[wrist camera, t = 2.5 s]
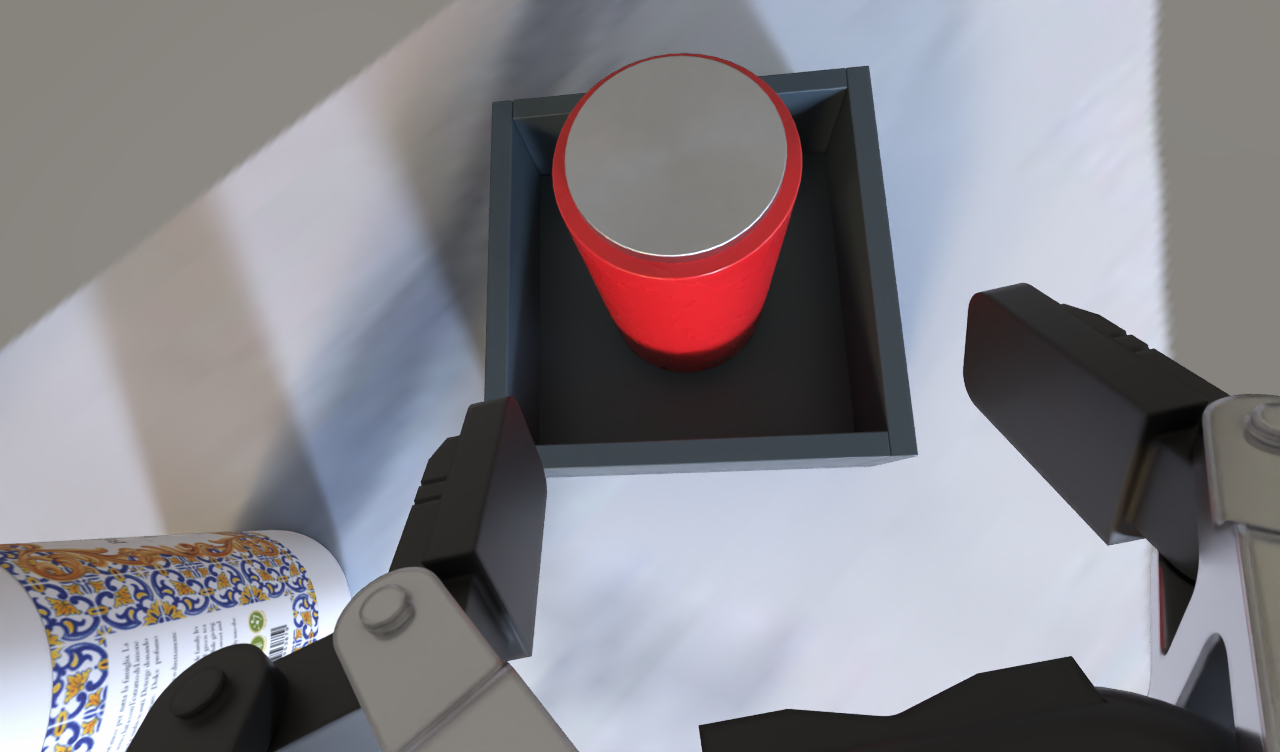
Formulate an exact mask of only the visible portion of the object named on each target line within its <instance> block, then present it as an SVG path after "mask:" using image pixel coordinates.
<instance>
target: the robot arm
mask: <svg viewBox="0 0 1280 752" xmlns="http://www.w3.org/2000/svg"><path fill="white" fill-rule="evenodd" d="M963 377H964V383H965V387H966V390H967V393H968V395H969V397H970V399H971V401H972V402H973V404H974V405H975V406H976V407H977V408H978V409H979V410H980V411H981V412H982V413H983V414H984V415H985V417H986V418H987V419H988V420H989V421H990V422H991V423H992V424H993V425H994V426H995V427H996V428H997V429H998V430H999V431H1000V432H1001V433H1002V434H1003V436H1004V437H1005V438H1006V439H1007V440H1008V441H1009V442H1010V443H1011V444H1012V445H1013V446H1014V447H1015V448H1016V449H1017V450H1018V451H1019V452H1020V453H1021V455H1022V456H1023V457H1024V458H1025V459H1026V460H1027V461H1028V462H1029V463H1030V464H1031V465H1032V466H1033V467H1034V468H1035V469H1036V470H1037V471H1038V472H1039V474H1040V475H1041V476H1042V477H1043V478H1044V479H1045V480H1046V481H1047V482H1048V483H1049V484H1050V485H1051V486H1052V487H1053V488H1054V489H1055V490H1056V491H1057V492H1058V494H1059V495H1060V496H1061V497H1062V498H1063V499H1064V500H1065V501H1066V502H1067V503H1068V504H1069V505H1070V506H1071V507H1072V508H1073V509H1074V510H1075V511H1076V513H1077V514H1078V515H1079V516H1080V517H1081V518H1082V519H1083V520H1084V521H1085V522H1086V523H1087V524H1088V525H1089V526H1090V527H1091V528H1092V529H1093V530H1094V532H1095V533H1096V534H1097V535H1098V536H1099V537H1100V538H1101V539H1102V540H1103V541H1104V542H1105V543H1106V544H1107V545H1113V544H1118V543H1123V542H1129V541H1134V540H1139V539H1144V538H1146V539H1147V540H1148V541H1149V542H1150V543H1151V544H1152V545H1153V546H1154V547H1155V550H1154V552H1153V555H1152V558H1151V561H1150V665H1151V667H1150V683H1149V690H1148V695H1147V696H1144V695H1141V694H1137V693H1133V692H1128V691H1122V690H1117V689H1111V688H1105V687H1094V686H1093V684H1092V683H1091V682H1090V680H1089V679H1088V678H1087V676H1086V675H1085V673H1084V672H1083V671H1082V669H1081V668H1080V667H1079V665H1078V664H1077V663H1076V661H1075V660H1074V658H1073V657H1072V656H1069V657H1064V658H1058V659H1053V660H1048V661H1042V662H1037V663H1032V664H1026V665H1021V666H1015V667H1010V668H1005V669H999V670H994V671H989V672H983V673H978V674H976V675H974V676H972V677H970V678H968V679H966V680H964V681H962V682H960V683H958V684H956V685H954V686H952V687H950V688H948V689H946V690H944V691H943V692H941V693H939V694H937V695H935V696H933V697H931V698H929V699H927V700H925V701H923V702H921V703H919V704H917V705H915V706H913V707H911V708H909V709H907V710H905V711H903V712H901V713H899V714H896V715H892V716H872V715H859V714H846V713H834V712H821V711H808V710H795V709H785V710H779V711H774V712H769V713H763V714H758V715H753V716H747V717H742V718H736V719H731V720H726V721H720V722H715V723H710V724H704V725H699V732H700V739H701V746H702V752H1280V396H1275V395H1265V394H1243V395H1234V396H1230V395H1228V394H1227V393H1225V392H1224V391H1222V390H1220V389H1219V388H1217V387H1216V386H1214V385H1212V384H1211V383H1209V382H1207V381H1206V380H1204V379H1203V378H1201V377H1199V376H1197V375H1196V374H1194V373H1193V372H1191V371H1189V370H1188V369H1186V368H1185V367H1183V366H1181V365H1180V364H1178V363H1177V362H1175V361H1173V360H1172V359H1170V358H1169V357H1167V356H1165V355H1164V354H1162V353H1160V352H1159V351H1157V350H1156V349H1149V348H1148V345H1147V344H1146V343H1144V342H1143V341H1141V340H1139V339H1138V338H1136V337H1135V336H1133V335H1127V334H1126V331H1125V330H1123V329H1122V328H1120V327H1118V326H1117V325H1115V324H1113V323H1112V322H1110V321H1109V320H1107V319H1105V318H1104V317H1102V316H1100V315H1098V314H1095V313H1092V312H1089V311H1086V310H1082V309H1079V308H1076V307H1073V306H1070V305H1066V304H1059V303H1058V302H1056V301H1055V300H1053V299H1051V298H1050V297H1048V296H1047V295H1045V294H1044V293H1042V292H1041V291H1039V290H1037V289H1036V288H1034V287H1033V286H1031V285H1029V284H1027V283H1019V284H1015V285H1010V286H1006V287H1001V288H997V289H992V290H988V291H983V292H979V293H976V294H975V295H973V297H972V298H971V300H970V303H969V308H968V318H967V330H966V342H965V354H964V366H963ZM546 497H547V486H546V478H545V472H544V468H543V465H542V461H541V459H540V456H539V454H538V451H537V449H536V446H535V444H534V441H533V439H532V436H531V434H530V431H529V429H528V426H527V424H526V421H525V419H524V416H523V414H522V411H521V409H520V407H519V404H518V402H517V401H516V399H515V398H514V397H513V396H507V397H502V398H498V399H493V400H489V401H484V402H480V403H475V404H471V405H470V406H469V408H468V410H467V414H466V417H465V420H464V423H463V427H462V430H461V433H460V435H459V436H455V437H450V438H447V439H446V440H445V441H444V442H443V443H442V445H441V446H440V447H439V448H438V449H437V451H436V452H435V453H434V454H433V455H432V457H431V458H430V459H429V460H428V463H427V466H426V469H425V472H424V474H423V477H422V480H421V486H419V488H418V491H417V494H416V497H415V500H414V502H415V505H412V508H411V511H410V513H409V516H408V519H407V522H406V525H405V527H404V530H403V533H402V536H401V539H400V541H399V544H398V547H397V550H396V553H395V555H394V558H393V561H392V564H391V567H390V569H389V572H388V573H386V574H384V575H382V576H380V577H378V578H377V579H375V580H374V581H372V582H370V583H369V584H368V585H366V586H365V587H364V588H363V589H361V590H360V591H359V592H358V593H357V594H356V595H355V596H354V597H353V598H352V599H351V600H350V602H349V603H348V604H347V605H346V607H345V608H344V609H343V611H342V612H341V614H340V616H339V618H338V620H337V622H336V625H335V628H334V632H333V633H331V634H329V635H328V636H326V637H323V638H321V639H319V640H317V641H315V642H313V643H311V644H309V645H307V646H305V647H303V648H300V649H298V650H296V651H294V652H292V653H290V654H288V655H286V656H284V657H282V658H280V659H277V660H275V661H273V662H272V661H271V660H270V659H269V657H268V656H267V655H266V654H265V653H264V652H263V651H262V650H261V649H260V648H259V647H257V646H255V645H252V644H248V643H240V644H234V645H230V646H227V647H224V648H221V649H219V650H216V651H214V652H212V653H210V654H208V655H207V656H205V657H203V658H201V659H200V660H198V661H197V662H195V663H194V664H192V665H191V666H190V667H188V668H187V669H186V670H185V671H183V672H182V673H181V674H180V675H179V676H178V677H177V678H175V679H174V680H173V681H172V682H171V683H170V684H169V685H168V687H167V688H166V689H165V690H164V691H163V692H162V693H161V694H160V696H159V697H158V698H157V700H156V701H155V702H154V704H153V705H152V707H151V708H150V710H149V711H148V713H147V715H146V717H145V718H144V720H143V722H142V724H141V725H140V727H139V729H138V731H137V732H136V734H135V736H134V738H133V739H132V741H131V743H130V744H129V746H128V748H127V750H126V751H125V752H579V751H578V750H577V749H576V747H575V746H574V745H573V744H572V742H571V741H570V740H569V738H568V737H567V736H566V735H565V733H564V732H563V731H562V729H561V728H560V727H559V726H558V724H557V723H556V722H555V720H554V719H553V718H552V717H551V715H550V714H549V713H548V711H547V710H546V709H545V708H544V706H543V705H542V704H541V702H540V701H539V700H538V699H537V697H536V696H535V695H534V693H533V692H532V691H531V690H530V688H529V687H528V686H527V684H526V683H525V682H524V681H523V679H522V678H521V677H520V676H519V674H518V673H517V672H516V671H515V669H514V668H513V667H512V666H511V665H510V664H509V663H508V662H507V661H510V660H515V659H520V658H525V657H530V656H532V647H533V637H534V626H535V615H536V604H537V594H538V583H539V572H540V562H541V551H542V540H543V529H544V519H545V508H546Z"/></svg>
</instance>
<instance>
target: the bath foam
mask: <svg viewBox="0 0 1280 752" xmlns="http://www.w3.org/2000/svg"><path fill="white" fill-rule="evenodd" d="M350 600H351V596H350V591H349V586H348V583H347V580H346V577H345V575H344V573H343V571H342V569H341V567H340V565H339V564H338V562H337V561H336V559H335V558H334V557H333V556H332V554H331V553H330V552H329V551H328V550H327V549H326V548H325V547H323V546H322V545H321V544H319V543H318V542H317V541H315V540H313V539H311V538H309V537H307V536H305V535H302V534H299V533H296V532H291V531H285V530H261V531H234V532H216V533H198V534H180V535H162V536H143V537H125V538H107V539H89V540H71V541H53V542H35V543H16V544H0V752H125V751H126V750H127V748H128V746H129V744H130V743H131V741H132V739H133V738H134V736H135V734H136V732H137V731H138V729H139V727H140V725H141V724H142V722H143V720H144V718H145V717H146V715H147V713H148V711H149V710H150V708H151V707H152V705H153V704H154V702H155V701H156V700H157V698H158V697H159V696H160V694H161V693H162V692H163V691H164V690H165V689H166V688H167V687H168V685H169V684H170V683H171V682H172V681H173V680H174V679H175V678H177V677H178V676H179V675H180V674H181V673H182V672H183V671H185V670H186V669H187V668H188V667H190V666H191V665H192V664H194V663H195V662H197V661H198V660H200V659H201V658H203V657H205V656H207V655H208V654H210V653H212V652H214V651H216V650H219V649H221V648H224V647H227V646H230V645H234V644H240V643H248V644H252V645H255V646H257V647H259V648H260V649H261V650H262V651H263V652H264V653H265V654H266V655H267V656H268V657H269V659H270V660H271V661H272V662H273V661H275V660H277V659H280V658H282V657H284V656H286V655H288V654H290V653H292V652H294V651H296V650H298V649H300V648H303V647H305V646H307V645H309V644H311V643H313V642H315V641H317V640H319V639H321V638H323V637H326V636H328V635H329V634H331V633H333V632H334V628H335V625H336V622H337V620H338V618H339V616H340V614H341V612H342V611H343V609H344V608H345V607H346V605H347V604H348V603H349V602H350Z"/></svg>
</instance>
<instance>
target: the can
mask: <svg viewBox="0 0 1280 752" xmlns="http://www.w3.org/2000/svg"><path fill="white" fill-rule="evenodd" d="M801 174H802V149H801V143H800V137H799V134H798V131H797V128H796V125H795V122H794V120H793V118H792V116H791V114H790V112H789V110H788V108H787V107H786V105H785V104H784V103H783V101H782V100H781V98H780V97H779V96H778V95H777V94H776V92H775V91H774V90H773V89H772V88H771V87H770V86H769V85H768V84H767V83H765V82H764V81H763V80H762V79H760V78H759V77H758V76H756V75H755V74H753V73H752V72H750V71H748V70H747V69H745V68H743V67H741V66H739V65H737V64H734V63H732V62H730V61H727V60H723V59H720V58H717V57H712V56H707V55H702V54H689V53H680V54H666V55H660V56H654V57H650V58H647V59H643V60H639V61H637V62H634V63H632V64H629V65H627V66H624V67H622V68H621V69H619V70H617V71H615V72H613V73H611V74H610V75H608V76H607V77H605V78H604V79H603V80H601V81H600V82H598V83H597V84H596V85H595V86H594V87H593V88H591V89H590V90H589V91H588V92H587V93H586V94H585V95H584V96H583V97H582V99H581V100H580V101H579V102H578V103H577V104H576V106H575V107H574V109H573V110H572V112H571V113H570V114H569V116H568V118H567V120H566V122H565V124H564V125H563V127H562V129H561V132H560V135H559V138H558V140H557V143H556V148H555V152H554V157H553V168H552V178H553V189H554V193H555V198H556V202H557V205H558V207H559V210H560V213H561V215H562V217H563V219H564V221H565V223H566V226H567V228H568V230H569V232H570V234H571V236H572V238H573V240H574V242H575V244H576V246H577V248H578V250H579V252H580V254H581V256H582V258H583V260H584V262H585V264H586V266H587V268H588V270H589V272H590V274H591V276H592V278H593V280H594V282H595V284H596V286H597V288H598V291H599V293H600V295H601V297H602V299H603V301H604V303H605V305H606V307H607V309H608V311H609V313H610V315H611V317H612V319H613V321H614V323H615V325H616V327H617V329H618V331H619V333H620V335H621V337H622V338H623V340H624V341H625V343H626V344H627V345H628V347H629V348H630V349H631V350H632V351H633V352H634V353H635V354H636V355H638V356H639V357H640V358H642V359H643V360H645V361H646V362H648V363H650V364H651V365H654V366H656V367H658V368H661V369H665V370H668V371H674V372H698V371H703V370H707V369H711V368H713V367H716V366H719V365H721V364H722V363H724V362H726V361H728V360H729V359H731V358H732V357H733V356H735V355H736V354H737V353H738V352H739V351H740V350H742V349H743V348H744V346H745V345H746V344H747V343H748V341H749V340H750V339H751V337H752V335H753V334H754V332H755V330H756V328H757V325H758V323H759V320H760V316H761V313H762V310H763V306H764V303H765V300H766V296H767V293H768V290H769V286H770V283H771V280H772V276H773V273H774V270H775V266H776V263H777V260H778V256H779V253H780V250H781V246H782V243H783V240H784V236H785V233H786V230H787V226H788V223H789V220H790V216H791V213H792V210H793V206H794V203H795V199H796V196H797V193H798V189H799V185H800V181H801Z"/></svg>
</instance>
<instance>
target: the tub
mask: <svg viewBox="0 0 1280 752" xmlns="http://www.w3.org/2000/svg"><path fill="white" fill-rule="evenodd" d="M758 77H759V78H760V79H762V80H763V81H764V82H765V83H767V84H768V85H769V86H770V87H771V88H772V89H773V90H774V91H775V92H776V94H777V95H778V96H779V97H780V98H781V100H782V101H783V103H784V104H785V105H786V107H787V108H788V110H789V112H790V114H791V116H792V118H793V120H794V122H795V125H796V128H797V131H798V134H799V137H800V143H801V149H802V174H801V181H800V185H799V189H798V193H797V196H796V199H795V203H794V206H793V210H792V213H791V216H790V220H789V223H788V226H787V230H786V233H785V236H784V240H783V243H782V246H781V250H780V253H779V256H778V260H777V263H776V266H775V270H774V273H773V276H772V280H771V283H770V286H769V290H768V293H767V296H766V300H765V303H764V306H763V310H762V313H761V316H760V320H759V323H758V325H757V328H756V330H755V332H754V334H753V335H752V337H751V339H750V340H749V341H748V343H747V344H746V345H745V346H744V348H743V349H742V350H740V351H739V352H738V353H737V354H736V355H735V356H733V357H732V358H731V359H729V360H728V361H726V362H724V363H722V364H721V365H719V366H716V367H713V368H711V369H707V370H703V371H698V372H674V371H668V370H665V369H661V368H658V367H656V366H654V365H651V364H650V363H648V362H646V361H645V360H643V359H642V358H640V357H639V356H638V355H636V354H635V353H634V352H633V351H632V350H631V349H630V348H629V347H628V345H627V344H626V343H625V341H624V340H623V338H622V337H621V335H620V333H619V331H618V329H617V327H616V325H615V323H614V321H613V319H612V317H611V315H610V313H609V311H608V309H607V307H606V305H605V303H604V301H603V299H602V297H601V295H600V293H599V291H598V288H597V286H596V284H595V282H594V280H593V278H592V276H591V274H590V272H589V270H588V268H587V266H586V264H585V262H584V260H583V258H582V256H581V254H580V252H579V250H578V248H577V246H576V244H575V242H574V240H573V238H572V236H571V234H570V232H569V230H568V228H567V226H566V223H565V221H564V219H563V217H562V215H561V213H560V210H559V207H558V205H557V202H556V198H555V193H554V189H553V178H552V168H553V157H554V152H555V148H556V143H557V140H558V138H559V135H560V132H561V129H562V127H563V125H564V124H565V122H566V120H567V118H568V116H569V114H570V113H571V112H572V110H573V109H574V107H575V106H576V104H577V103H578V102H579V101H580V100H581V99H582V97H583V96H584V95H585V94H586V93H581V94H570V95H560V96H549V97H539V98H529V99H518V100H513V101H511V100H510V101H500V102H493V103H492V134H491V171H490V208H489V245H488V282H487V320H486V357H485V394H484V401H489V400H493V399H498V398H502V397H507V396H513V397H514V398H515V399H516V401H517V402H518V404H519V407H520V409H521V411H522V414H523V416H524V419H525V421H526V424H527V426H528V429H529V431H530V434H531V436H532V439H533V441H534V444H535V446H536V449H537V451H538V454H539V456H540V459H541V461H542V465H543V468H544V472H545V478H546V477H575V476H605V475H634V474H663V473H692V472H721V471H750V470H779V469H808V468H837V467H866V466H875V465H880V464H885V463H889V462H893V461H898V460H902V459H906V458H911V457H915V456H918V451H917V443H916V436H915V428H914V420H913V412H912V404H911V396H910V388H909V380H908V372H907V364H906V356H905V348H904V340H903V333H902V325H901V317H900V309H899V301H898V293H897V285H896V277H895V269H894V261H893V253H892V245H891V238H890V230H889V222H888V214H887V206H886V198H885V190H884V182H883V174H882V166H881V158H880V150H879V142H878V135H877V127H876V119H875V111H874V103H873V95H872V87H871V79H870V71H869V66H861V67H850V68H846V70H845V68H841V69H831V70H820V71H810V72H799V73H789V74H779V75H768V76H758Z"/></svg>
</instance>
